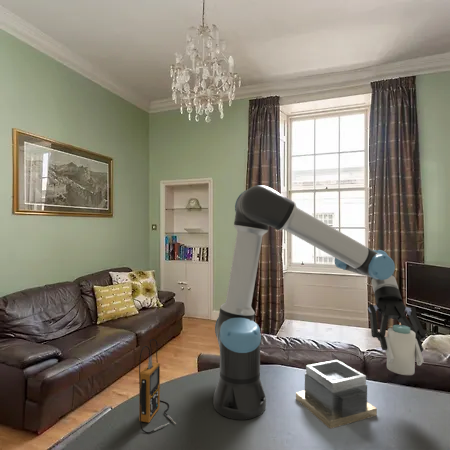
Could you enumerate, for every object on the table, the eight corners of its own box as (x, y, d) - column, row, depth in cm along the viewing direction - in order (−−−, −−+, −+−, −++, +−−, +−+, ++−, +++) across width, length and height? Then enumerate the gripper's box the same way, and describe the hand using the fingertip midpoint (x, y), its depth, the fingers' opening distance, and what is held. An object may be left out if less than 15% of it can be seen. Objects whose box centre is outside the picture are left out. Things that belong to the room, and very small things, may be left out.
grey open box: (295, 399, 96) (296, 364, 96) (338, 389, 102) (338, 356, 102) (329, 428, 82) (330, 387, 82) (376, 415, 88) (377, 377, 88)
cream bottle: (381, 366, 94) (382, 324, 94) (398, 362, 97) (399, 322, 97) (402, 376, 87) (403, 332, 87) (420, 373, 90) (421, 329, 90)
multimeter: (169, 437, 78) (170, 355, 78) (132, 431, 80) (132, 351, 80) (188, 404, 93) (189, 335, 93) (156, 400, 95) (156, 332, 95)
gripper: (415, 299, 106) (439, 370, 90) (352, 296, 109) (364, 364, 93) (423, 286, 101) (450, 359, 85) (356, 283, 103) (371, 353, 87)
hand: (405, 362), depth 89 cm, fingers closed on cream bottle, 7 cm apart
